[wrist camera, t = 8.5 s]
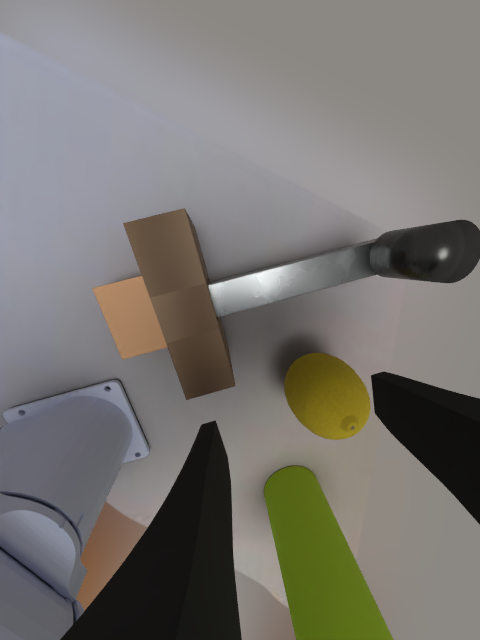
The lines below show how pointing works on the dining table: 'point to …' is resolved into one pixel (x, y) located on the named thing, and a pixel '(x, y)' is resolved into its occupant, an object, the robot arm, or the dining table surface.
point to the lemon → (327, 396)
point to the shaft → (358, 266)
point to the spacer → (130, 317)
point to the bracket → (182, 300)
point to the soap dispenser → (318, 563)
